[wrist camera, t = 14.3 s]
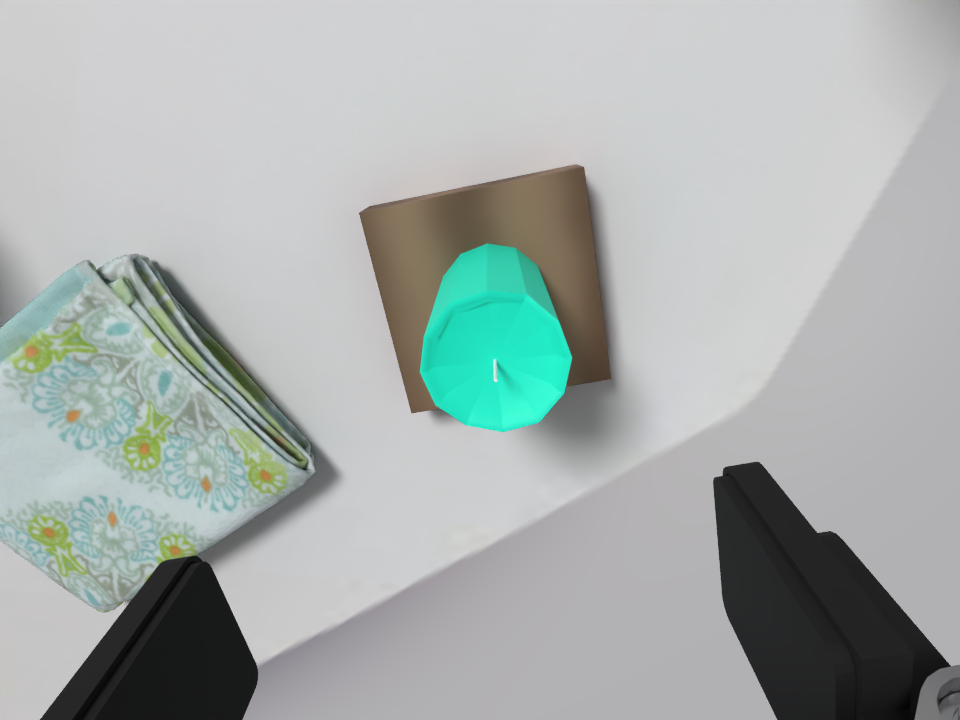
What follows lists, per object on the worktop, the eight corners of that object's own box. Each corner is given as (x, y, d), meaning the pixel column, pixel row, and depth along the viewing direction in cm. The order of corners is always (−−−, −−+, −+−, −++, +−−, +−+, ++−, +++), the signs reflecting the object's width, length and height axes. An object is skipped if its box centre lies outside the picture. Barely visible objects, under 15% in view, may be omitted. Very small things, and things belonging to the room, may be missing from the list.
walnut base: (575, 164, 33) (584, 167, 30) (601, 360, 37) (611, 378, 35) (369, 206, 34) (359, 212, 31) (417, 393, 38) (411, 413, 36)
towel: (337, 450, 41) (317, 492, 36) (122, 589, 45) (78, 643, 40) (143, 229, 35) (89, 243, 31) (-78, 410, 40) (-156, 448, 35)
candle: (568, 308, 33) (608, 395, 22) (482, 367, 34) (479, 479, 23) (505, 220, 31) (514, 267, 20) (417, 286, 33) (380, 364, 22)
